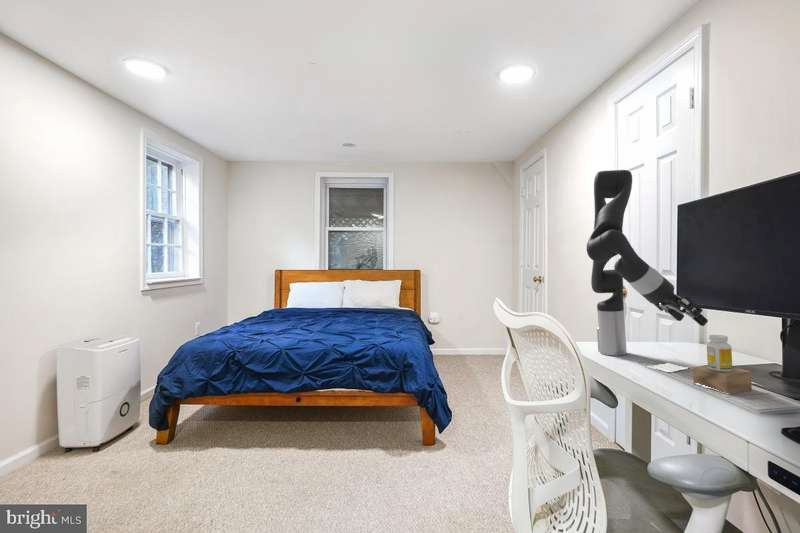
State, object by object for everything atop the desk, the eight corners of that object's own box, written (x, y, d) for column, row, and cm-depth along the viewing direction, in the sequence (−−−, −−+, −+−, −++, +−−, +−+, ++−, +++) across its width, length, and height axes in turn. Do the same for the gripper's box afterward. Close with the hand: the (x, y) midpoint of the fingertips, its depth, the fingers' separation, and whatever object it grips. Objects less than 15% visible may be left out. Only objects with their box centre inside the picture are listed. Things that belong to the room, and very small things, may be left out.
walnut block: (693, 384, 108) (692, 367, 108) (716, 379, 110) (715, 363, 110) (727, 394, 100) (726, 375, 99) (751, 389, 102) (750, 371, 102)
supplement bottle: (705, 370, 105) (703, 336, 105) (710, 365, 109) (708, 333, 109) (730, 373, 101) (728, 338, 101) (734, 368, 104) (732, 335, 104)
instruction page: (646, 367, 126) (646, 366, 126) (666, 362, 130) (666, 361, 130) (669, 373, 119) (669, 372, 119) (690, 368, 122) (690, 367, 122)
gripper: (677, 274, 98) (723, 314, 98) (642, 273, 112) (682, 308, 112) (658, 296, 98) (704, 335, 98) (626, 291, 112) (666, 326, 112)
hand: (692, 321), depth 105 cm, fingers open, 8 cm apart
